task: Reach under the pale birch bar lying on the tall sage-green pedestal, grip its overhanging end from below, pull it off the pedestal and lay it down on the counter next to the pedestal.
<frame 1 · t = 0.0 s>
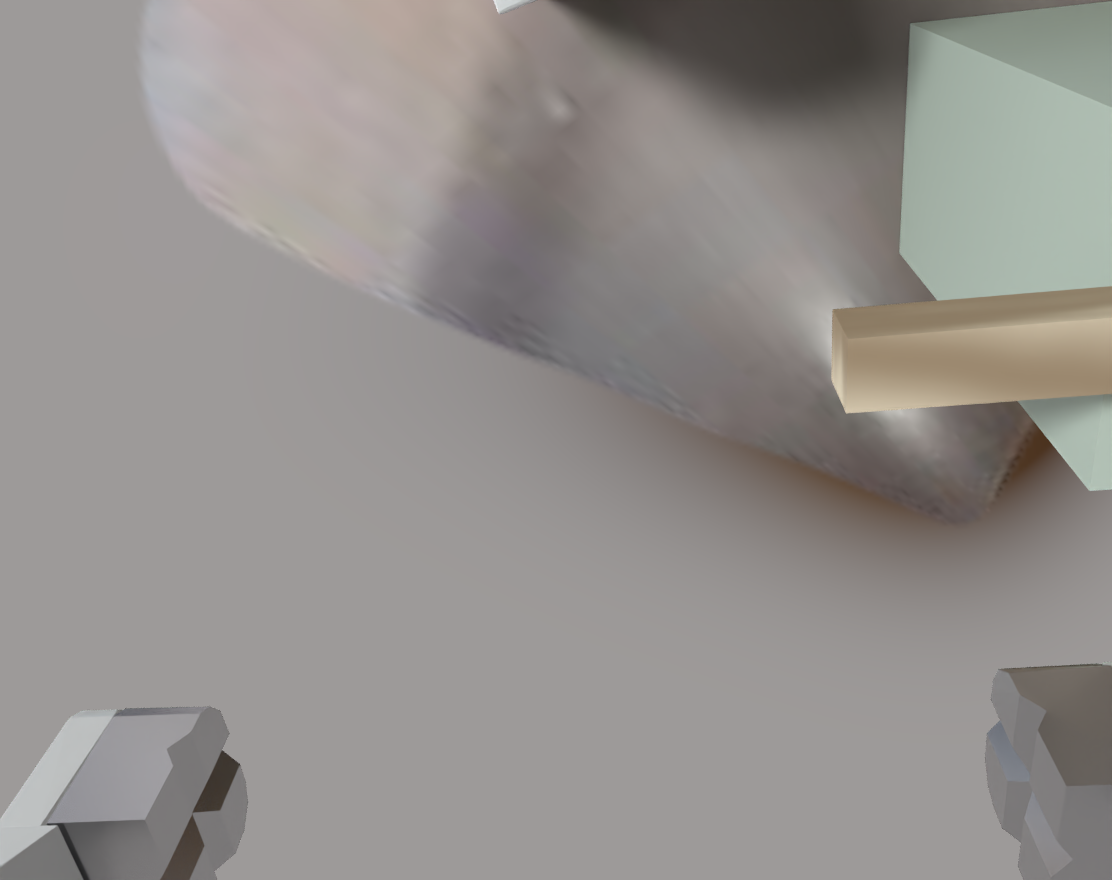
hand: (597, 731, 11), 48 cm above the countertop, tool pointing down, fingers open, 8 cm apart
pedestal: (1001, 134, 54), on the countertop
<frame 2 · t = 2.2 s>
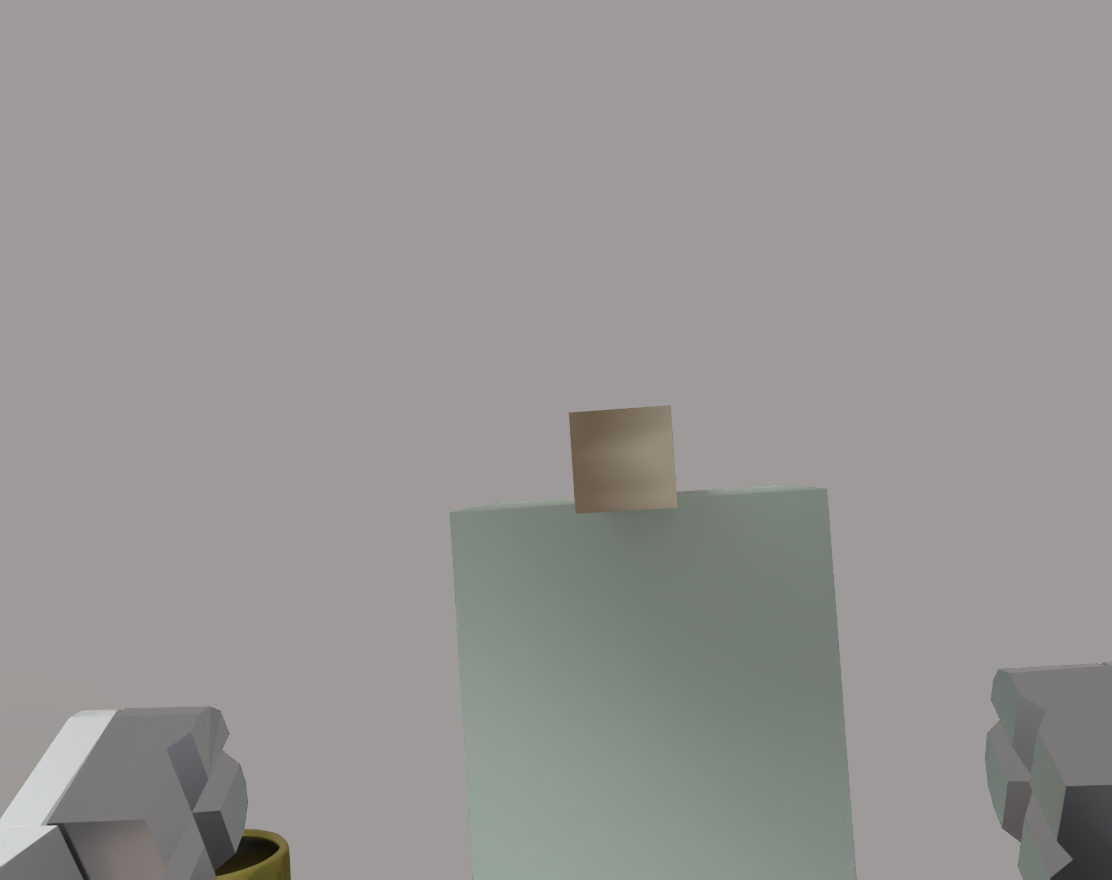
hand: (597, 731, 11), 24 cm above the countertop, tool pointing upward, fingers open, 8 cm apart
birch bar: (636, 499, 34), point 26 cm above the countertop, touching pedestal
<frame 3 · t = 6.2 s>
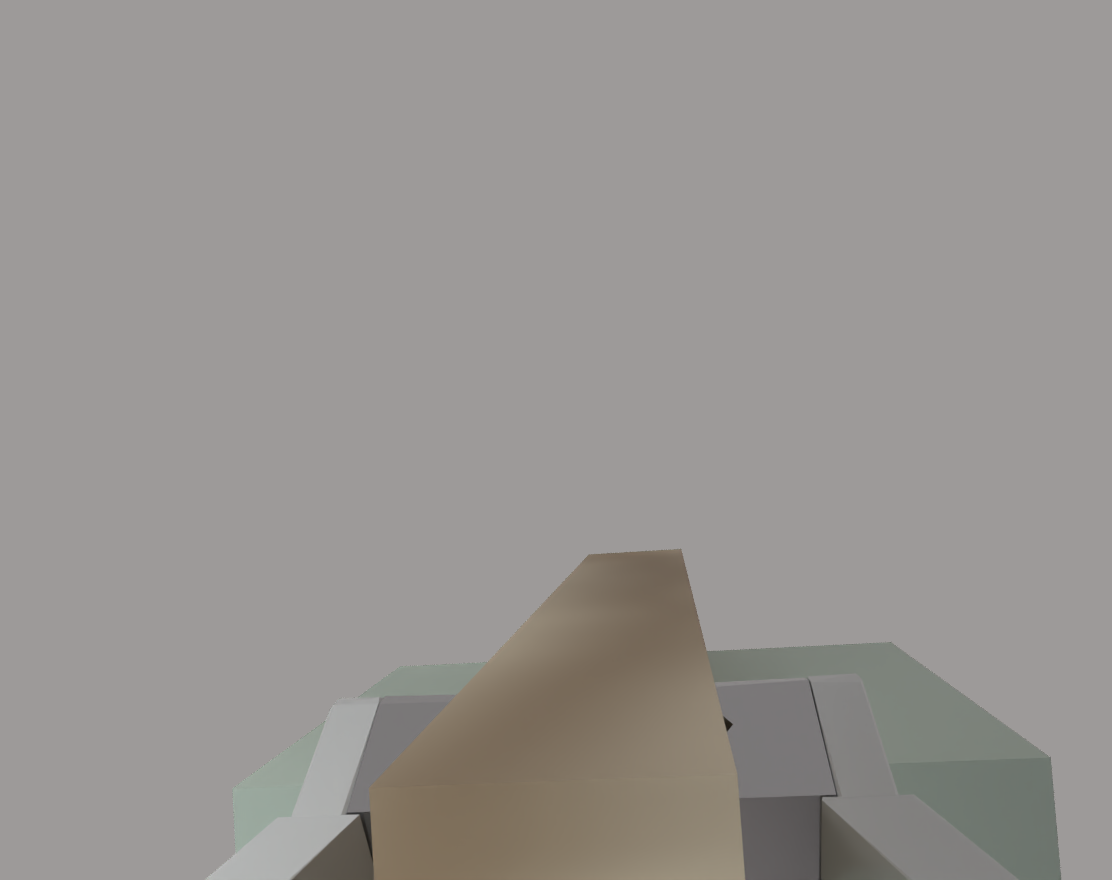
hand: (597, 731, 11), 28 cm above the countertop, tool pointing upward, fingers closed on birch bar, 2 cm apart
birch bar: (628, 746, 16), point 26 cm above the countertop, touching gripper, pedestal
when the fingers open (11 cm above the countertop, at t = 15.1 s): birch bar drops 7 cm, on the countertop.
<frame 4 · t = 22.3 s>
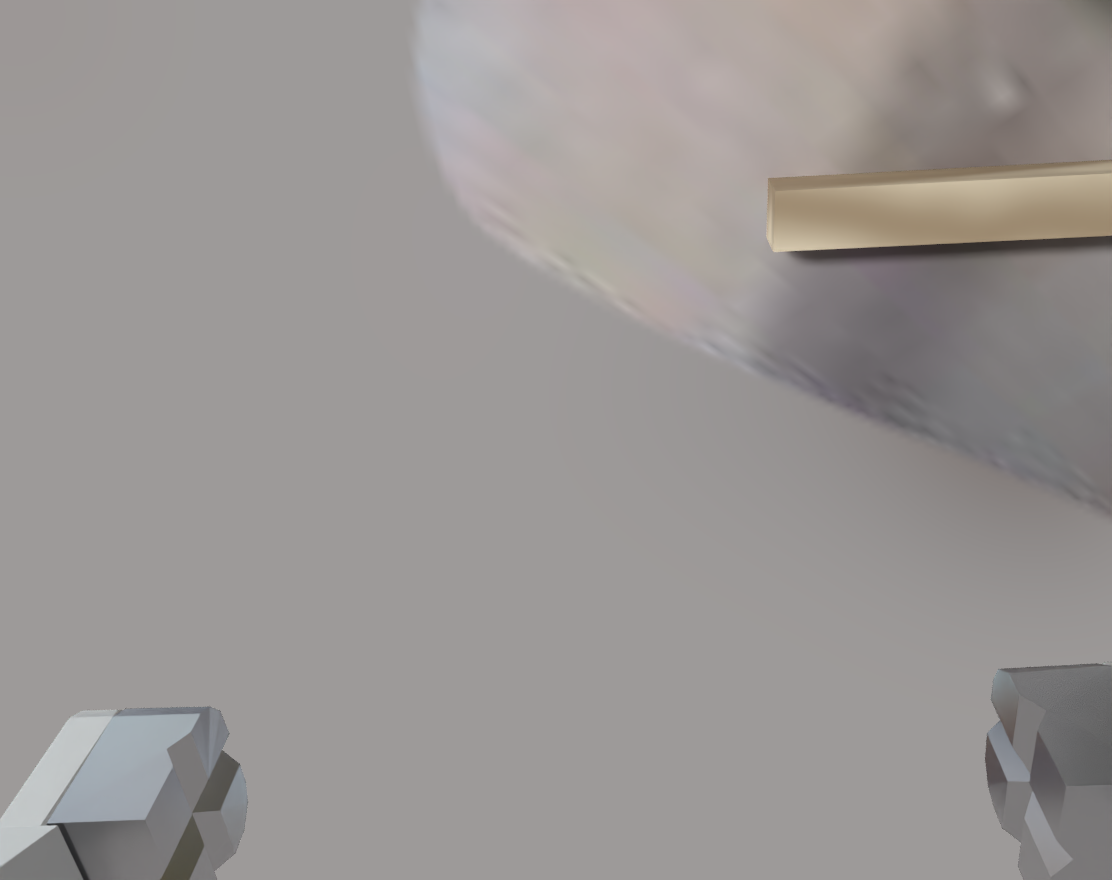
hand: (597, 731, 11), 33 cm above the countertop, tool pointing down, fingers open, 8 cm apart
birch bar: (1018, 192, 41), on the countertop
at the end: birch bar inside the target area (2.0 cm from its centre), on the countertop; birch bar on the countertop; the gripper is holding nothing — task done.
